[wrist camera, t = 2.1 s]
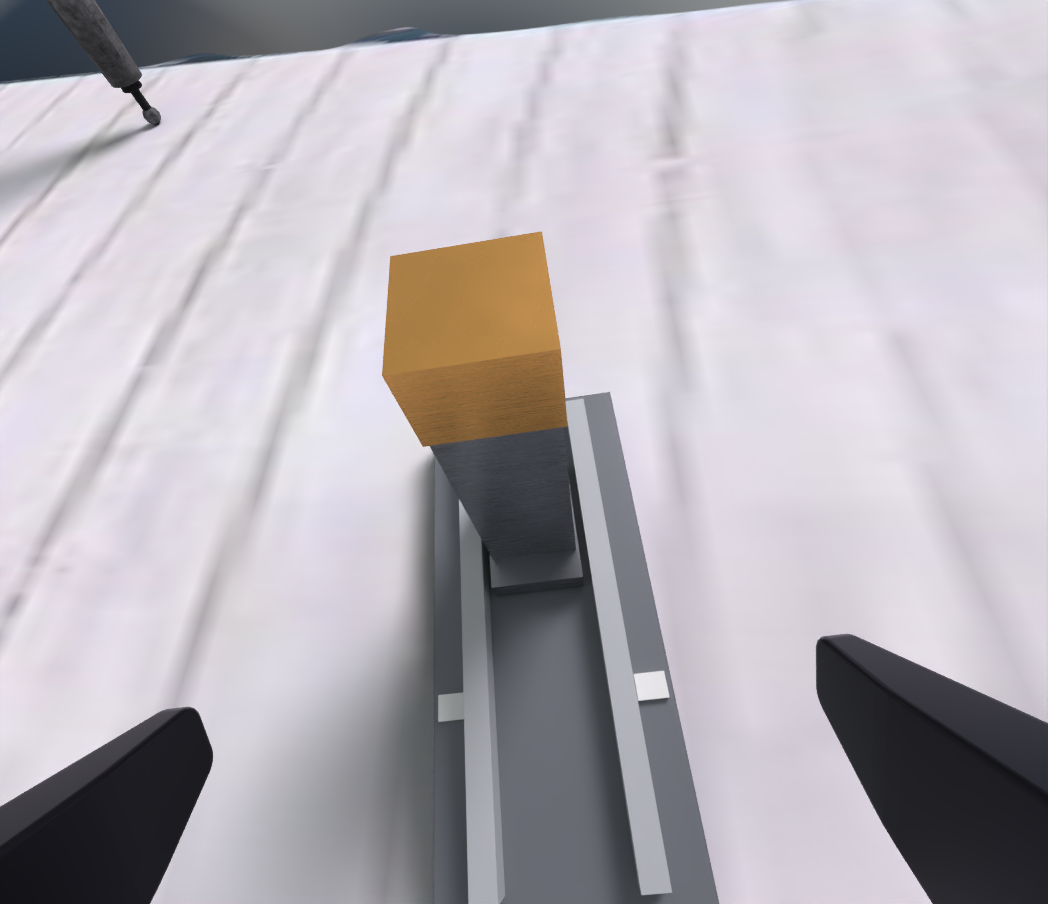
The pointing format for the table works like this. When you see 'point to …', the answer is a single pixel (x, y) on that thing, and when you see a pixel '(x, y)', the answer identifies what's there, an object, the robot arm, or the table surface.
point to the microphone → (103, 48)
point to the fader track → (560, 712)
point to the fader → (489, 398)
